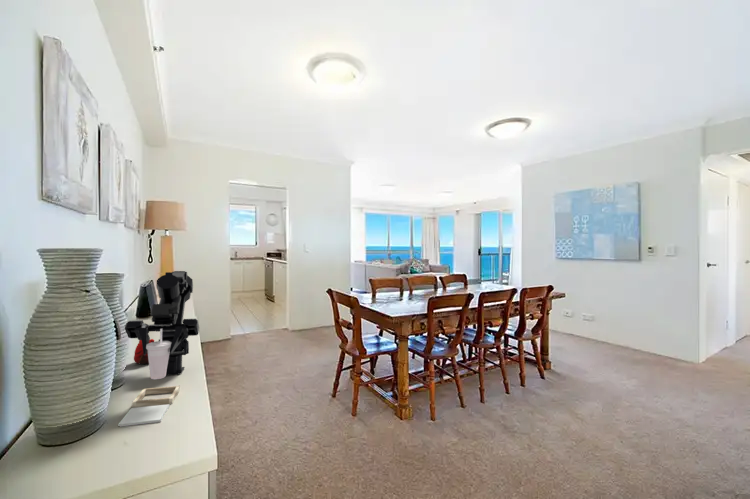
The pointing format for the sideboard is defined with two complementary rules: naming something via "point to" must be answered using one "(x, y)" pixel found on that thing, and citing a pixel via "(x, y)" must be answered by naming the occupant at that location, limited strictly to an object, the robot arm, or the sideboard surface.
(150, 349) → the smoothie
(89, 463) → the sideboard surface
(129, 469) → the sideboard surface
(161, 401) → the frame
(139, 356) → the red clay folk toy
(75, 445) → the sideboard surface
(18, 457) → the sideboard surface
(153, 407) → the mat
